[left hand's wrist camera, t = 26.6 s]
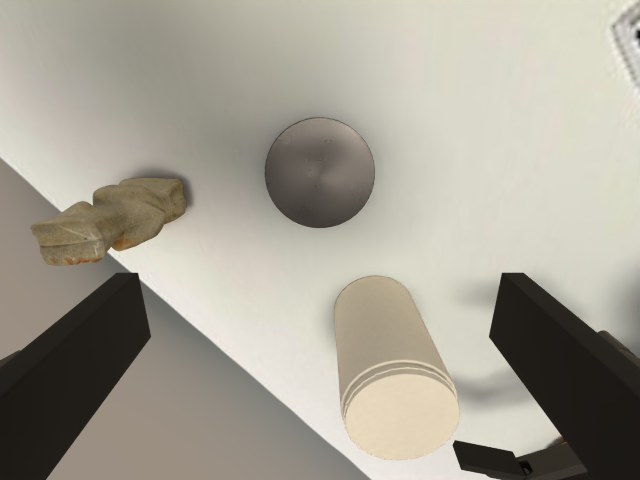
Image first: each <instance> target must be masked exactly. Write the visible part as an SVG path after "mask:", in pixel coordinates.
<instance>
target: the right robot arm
mask: <svg viewBox="0 0 640 480" xmlns="http://www.w3.org/2000/svg"><path fill="white" fill-rule="evenodd" d="M598 334H599V335H600V336H602V337H603V338H604V339H605V340H606V341H608V342H609V343H610V344H611V345H613V346H614V347H615V348H616V349H622V350H624V351H626V352H628V353H630V354H632V355H634V354H633V353H632V352H631V351H630V350H628V349H627V348H626V347H625V346H624V345H622V344H621V343H620V342H619V341H618V340H616V339H615V338H614V337H613V336H612V335H610V334H609V333H608V332H607V331H599V332H598ZM634 356H635V355H634ZM635 357H636V356H635ZM453 448H454V451H455V454H456V456H457V459H458V462H459V465H460V468H461V470H466V471H471V472H476V473H481V474H486V475H487V476H488V477H490V478H496V479H500V480H594V479H593V477H592V476H591V475H590V473H589V472H588V471H587V469H586V468H585V467H584V465H583V464H582V463H581V461H580V460H579V458H578V457H577V456H576V454H575V453H574V452H573V450H572V449H571V448H570V446H569V445H568V444H567V443H564V444H560V445H557V446H554V447H550V448H547V449H544V450H540V451H537V452H533V453H530V454H527V455H523V456H520V457H517V458H516V457H515V455H514V453H513V452H512V451H507V450H502V449H497V448H492V447H487V446H481V445H476V444H471V443H466V442H461V441H456V440H455V441H454V443H453ZM524 468H526V469H524Z"/></svg>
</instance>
